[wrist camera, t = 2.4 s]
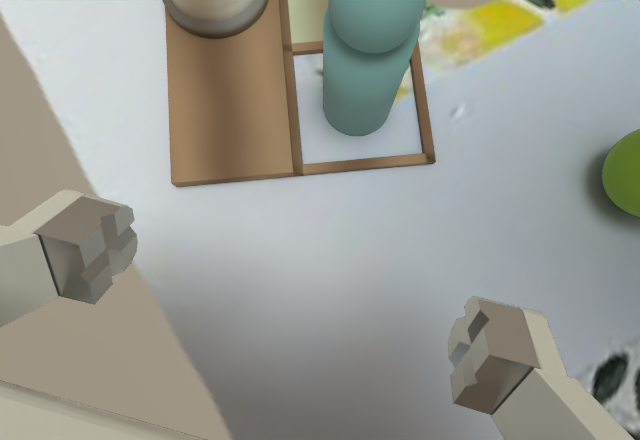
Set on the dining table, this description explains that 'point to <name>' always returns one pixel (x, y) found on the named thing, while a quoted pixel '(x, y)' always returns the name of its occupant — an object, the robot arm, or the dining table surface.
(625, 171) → the snail figurine
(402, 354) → the dining table surface
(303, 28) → the game board
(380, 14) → the pawn
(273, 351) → the dining table surface
